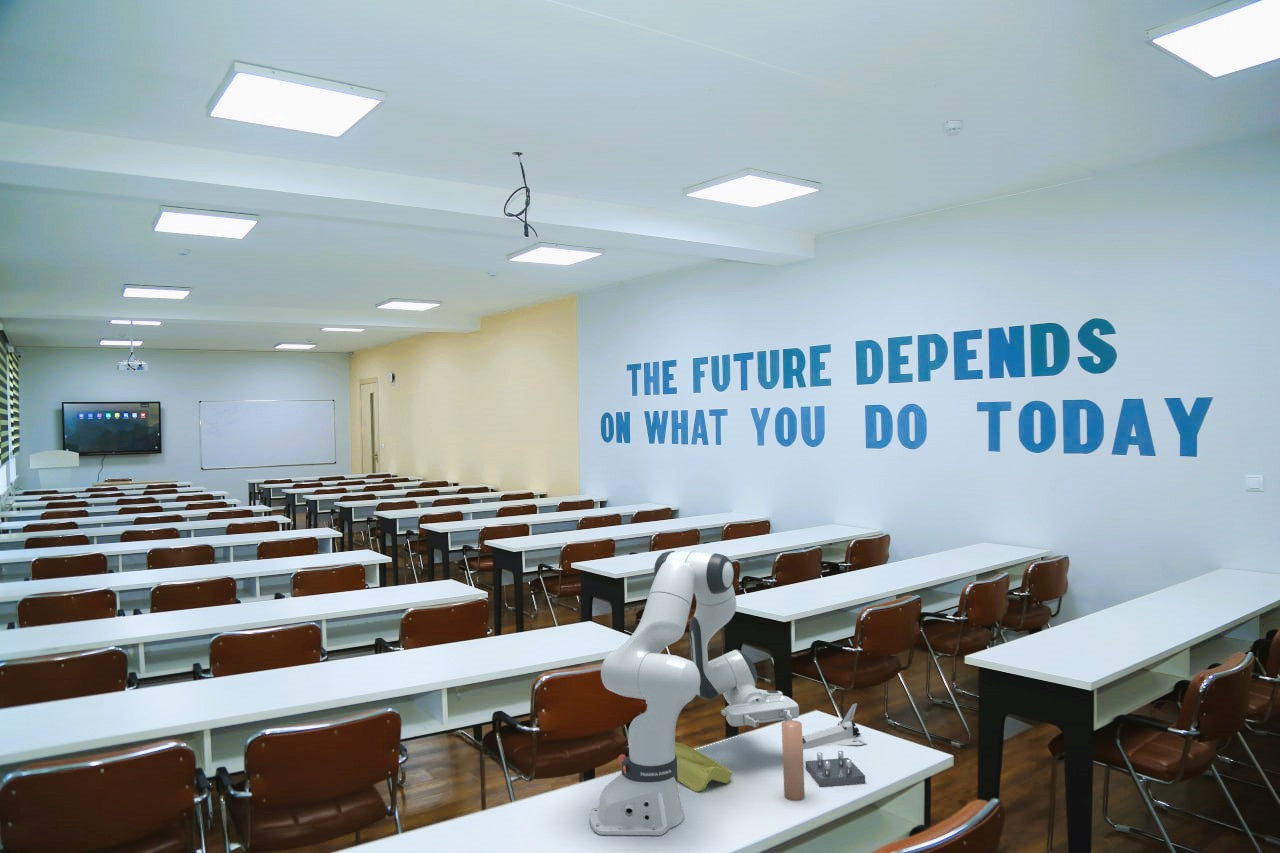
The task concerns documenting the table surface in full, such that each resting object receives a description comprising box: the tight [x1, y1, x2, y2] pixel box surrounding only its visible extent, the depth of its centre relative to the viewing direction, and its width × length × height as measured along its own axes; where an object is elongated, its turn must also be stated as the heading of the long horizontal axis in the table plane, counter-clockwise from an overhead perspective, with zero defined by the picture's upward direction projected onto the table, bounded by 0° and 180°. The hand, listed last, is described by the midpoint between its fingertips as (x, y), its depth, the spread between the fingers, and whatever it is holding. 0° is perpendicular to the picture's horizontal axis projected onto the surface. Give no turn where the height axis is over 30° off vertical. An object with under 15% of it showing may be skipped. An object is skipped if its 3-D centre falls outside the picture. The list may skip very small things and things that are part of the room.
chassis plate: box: [804, 750, 866, 788], centre depth 210 cm, size 12×12×5 cm
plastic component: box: [675, 741, 733, 793], centre depth 213 cm, size 20×7×10 cm
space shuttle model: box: [802, 702, 868, 750], centre depth 234 cm, size 16×25×10 cm, turn 115°
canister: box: [781, 719, 806, 802], centre depth 199 cm, size 5×5×18 cm
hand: (773, 722), depth 211 cm, fingers open, 8 cm apart
